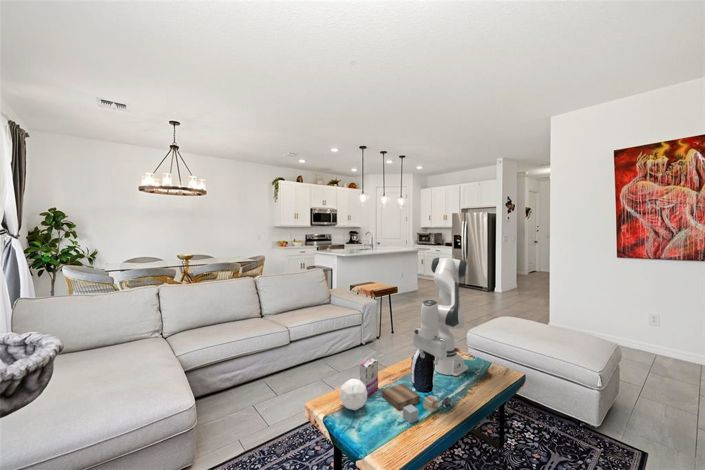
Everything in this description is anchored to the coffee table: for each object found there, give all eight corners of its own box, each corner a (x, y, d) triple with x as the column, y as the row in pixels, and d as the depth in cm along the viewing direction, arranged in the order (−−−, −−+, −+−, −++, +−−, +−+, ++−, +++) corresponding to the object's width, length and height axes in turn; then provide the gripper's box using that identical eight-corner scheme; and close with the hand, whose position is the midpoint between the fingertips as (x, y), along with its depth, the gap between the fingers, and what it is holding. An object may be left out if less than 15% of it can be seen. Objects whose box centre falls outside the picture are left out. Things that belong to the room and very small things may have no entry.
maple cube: (431, 404, 153) (431, 395, 152) (438, 409, 148) (438, 400, 148) (423, 407, 150) (423, 397, 150) (430, 413, 146) (430, 402, 146)
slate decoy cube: (411, 414, 145) (411, 404, 145) (418, 420, 140) (418, 409, 140) (403, 417, 142) (403, 407, 142) (410, 423, 138) (410, 413, 138)
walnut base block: (402, 390, 167) (402, 383, 167) (419, 403, 155) (419, 395, 155) (381, 397, 160) (381, 390, 160) (398, 411, 148) (398, 403, 148)
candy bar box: (370, 385, 171) (370, 357, 171) (378, 388, 168) (378, 359, 168) (359, 394, 162) (359, 364, 162) (367, 397, 159) (366, 367, 159)
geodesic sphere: (371, 416, 143) (371, 386, 143) (342, 420, 141) (341, 390, 141) (364, 399, 158) (364, 372, 158) (337, 402, 156) (337, 374, 155)
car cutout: (446, 411, 148) (446, 402, 147) (436, 404, 153) (436, 396, 153) (467, 402, 155) (467, 394, 155) (457, 396, 161) (457, 388, 161)
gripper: (449, 338, 142) (449, 367, 142) (420, 326, 160) (420, 352, 160) (440, 341, 139) (439, 370, 139) (411, 328, 157) (410, 354, 157)
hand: (429, 360), depth 150 cm, fingers open, 8 cm apart
